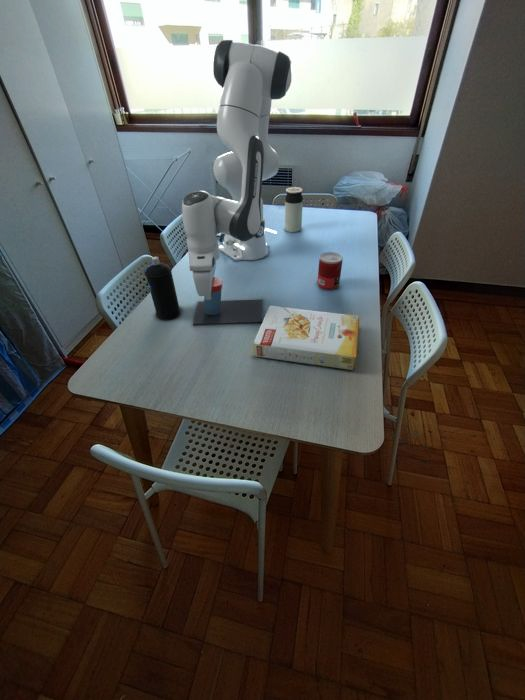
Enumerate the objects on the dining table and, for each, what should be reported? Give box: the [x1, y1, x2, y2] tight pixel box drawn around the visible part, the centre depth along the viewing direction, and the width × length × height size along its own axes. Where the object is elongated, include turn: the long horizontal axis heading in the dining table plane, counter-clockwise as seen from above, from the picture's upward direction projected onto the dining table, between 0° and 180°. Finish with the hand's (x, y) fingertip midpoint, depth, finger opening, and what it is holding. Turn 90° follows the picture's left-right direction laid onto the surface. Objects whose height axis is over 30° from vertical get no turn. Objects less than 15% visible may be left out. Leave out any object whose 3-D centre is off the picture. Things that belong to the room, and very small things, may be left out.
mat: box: [192, 299, 263, 326], centre depth 116 cm, size 22×13×1 cm, turn 91°
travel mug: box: [284, 186, 304, 233], centre depth 162 cm, size 8×8×18 cm
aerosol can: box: [143, 256, 182, 321], centre depth 110 cm, size 8×8×20 cm
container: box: [203, 276, 223, 315], centre depth 112 cm, size 6×6×11 cm
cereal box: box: [253, 305, 361, 371], centre depth 102 cm, size 20×6×28 cm
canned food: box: [317, 251, 344, 291], centre depth 124 cm, size 8×8×11 cm
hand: (209, 292), depth 111 cm, fingers closed on container, 5 cm apart
